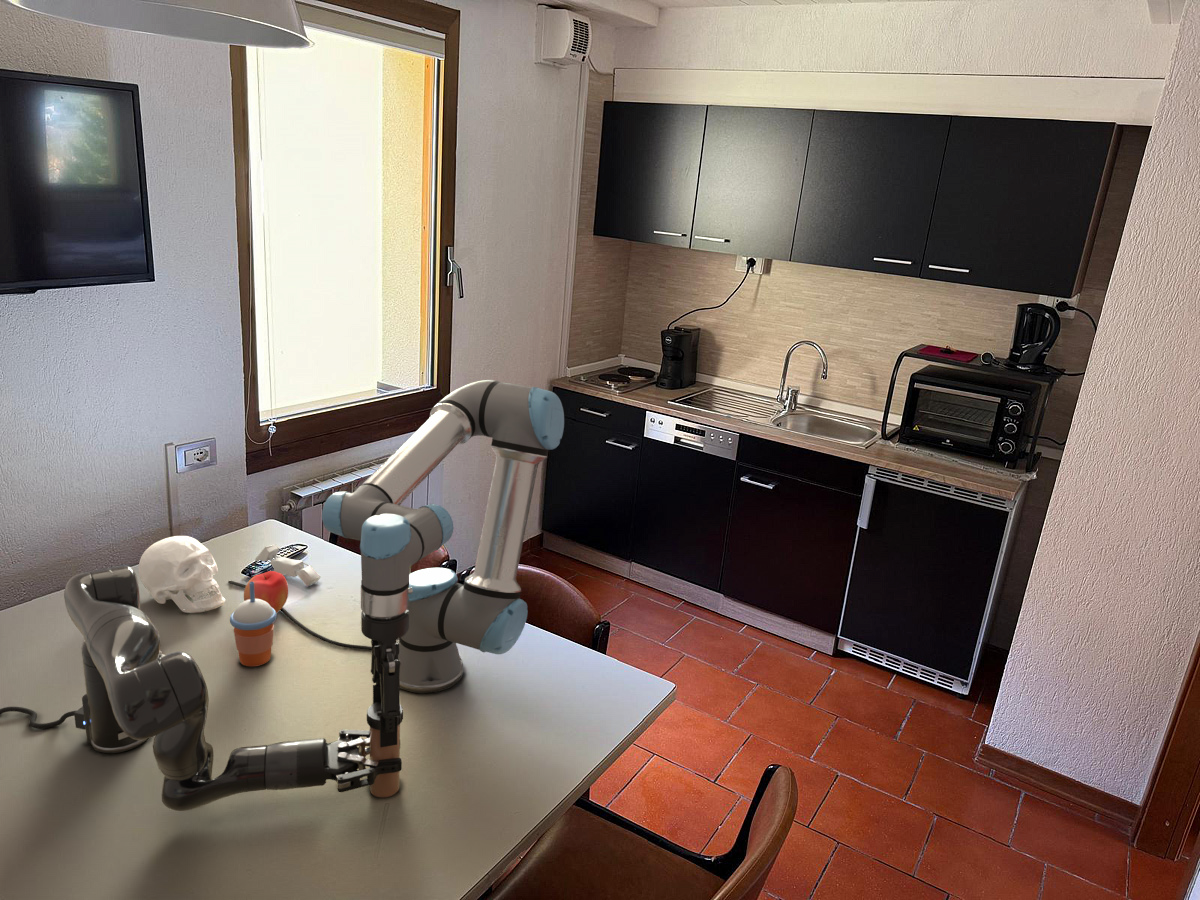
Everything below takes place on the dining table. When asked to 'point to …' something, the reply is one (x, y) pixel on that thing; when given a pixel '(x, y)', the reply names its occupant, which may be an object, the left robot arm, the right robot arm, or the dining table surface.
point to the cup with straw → (253, 630)
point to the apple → (269, 589)
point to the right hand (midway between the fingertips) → (384, 730)
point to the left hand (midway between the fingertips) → (400, 753)
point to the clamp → (288, 565)
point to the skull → (181, 574)
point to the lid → (375, 720)
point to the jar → (383, 782)
